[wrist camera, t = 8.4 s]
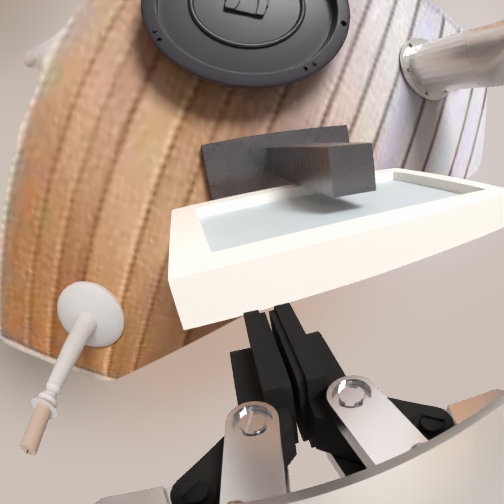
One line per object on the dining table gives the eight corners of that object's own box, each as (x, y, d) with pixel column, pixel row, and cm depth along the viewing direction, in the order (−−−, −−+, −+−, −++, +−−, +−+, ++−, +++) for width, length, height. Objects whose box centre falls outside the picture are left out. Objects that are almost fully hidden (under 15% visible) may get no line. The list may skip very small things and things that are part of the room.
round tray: (126, 82, 37) (322, 114, 43) (116, 73, 31) (338, 110, 38) (174, -62, 28) (342, -27, 35) (173, -80, 23) (357, -41, 29)
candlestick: (109, 274, 45) (33, 412, 17) (135, 339, 50) (104, 488, 22) (48, 289, 44) (-42, 406, 16) (76, 349, 49) (23, 478, 21)
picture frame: (395, 167, 38) (517, 191, 20) (397, 188, 39) (515, 222, 21) (172, 209, 33) (168, 280, 15) (177, 235, 34) (183, 330, 16)
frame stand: (342, 125, 44) (444, 118, 23) (349, 180, 47) (449, 209, 26) (201, 145, 42) (203, 138, 20) (213, 205, 45) (227, 257, 23)
